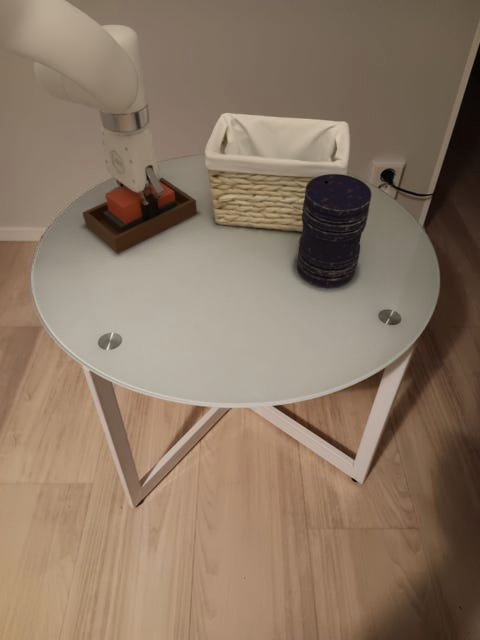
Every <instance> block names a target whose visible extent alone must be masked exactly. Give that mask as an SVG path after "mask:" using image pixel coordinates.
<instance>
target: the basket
mask: <svg viewBox="0 0 480 640" xmlns="http://www.w3.org/2000/svg"><path fill="white" fill-rule="evenodd" d="M350 150H351V135H350V125H349V123H348V122H347V121H342V120H341V121H340V120H339V121H338V120H327V119H318V118H301V117H300V118H299V117H283V116H281V117H280V116H269V115H259V114H258V115H257V114H246V113H232V112H225V113H222V114H220V116H219V118H218V119H217V120H216V123H215V125H214V127H213V130H212V131H211V135H210V136H209V139H208V141H207V143H206V145H205V148H204V154H203V155H204V167H205V169H206V170H207V171H208V179H209V187H210V190H209V191H210V192H209V193H210V197H211V205H212V207H213V216H214V222H215V224H218V225H224V226H230V227H233V226H235V227H236V226H237V227H242V228H243V227H244V228H245V227H248V228H254V229H258V228H259V229H267V230H272V229H273V230H282V231H295V232H300V233H302V230H303V223H302V213H303V202H304V199H305V189H306V186H307V184H308V183H309V181H311V180H312V179H314V178H316V177H318V176H322V175H327V174H342V175H348V166H349V159H350Z"/></svg>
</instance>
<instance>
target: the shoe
mask: <svg viewBox="0 0 480 640" xmlns="http://www.w3.org/2000/svg"><path fill="white" fill-rule="evenodd" d="M159 183H160V185H161V186H162V188H163V190H164V194H163V195H161V197H160V198H159V200H158V207H159V215H160V214H162V213H164V212H166V211H168V210H170V209H172V208H174V207H176V206H177V201H176V200H175V193H174V191H173V190H171V189H170V188H168V187H167V186H165V185H164V184H163V183H161V182H160V181H159ZM119 187H120V188H119ZM119 187H117V188H115V189H113V190H110V191H109V192H108V191H107V192H106V193H104V196H105V202H107V205H108V210H107V211H105V212H103V214H104V218H105V220H107V221H108V222H109V223H110V224H111V225H113V226H114V227H115V228H116V229H118V230H119V231H120V232H121V233H123V232H125V231H127V230H129V229H131V228H133V227H135V226H137V225H139V224H141V223H143V222H144V221H143V216H142V210H141V203H143V202H142V199H141V197H140V194H139V193H137V192H134V191H132V190H131V189H129V188H128V187H126V186H125V185H124V186H122V187H121V186H119ZM144 191H145V194H146V197H147V196H148V195H149V194H150V193H151V190H150V188H148V189H146V190H144Z"/></svg>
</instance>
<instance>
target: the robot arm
mask: <svg viewBox="0 0 480 640" xmlns="http://www.w3.org/2000/svg"><path fill="white" fill-rule="evenodd" d="M0 49H1V50H3V51H5V52H7V53H10V54H13V55H16V56H18V57H20V58H24V59H26V60H29V61H31V62H34V63H33V73H34V76H35V79H36V82H37V84H38V85H39V86H40V88H41V89H42V90H43V91H44V92H45V93H46V94H48V95H50V96H52V97H53V98H56V99H59V100H60V101H61V100H62V101H65V102H69V103H72V104H76V105H81V106H85V107H87V108H91V109H95V110H98V112H99V116H100V121H101V141H102V149H103V154H104V160H105V165H106V171H107V172H108V173H109V175H111V176H112V177H113V178H114V179H115V182H116V185H117V186H118V188H120V187H122V186H124V185H125V186H126V187H128V188H129V189H131V190H132V191H134V192H137V193H139V194H140V197H141V199H142V202H143V203H141V210H142V216H143V221H144V222H145V221H147V220H150V219H152V218H154V217H156V216H158V215H159V207H158V200H159V198H160V197H161V195H163V194H164V190H163V188H162V186H161V185H160V183H159V178H160V171H159V163H158V162H159V161H158V158H157V153H156V148H155V143H154V139H153V135H152V131H151V127H150V125H151V120H150V113H149V106H148V105H149V104H148V99H147V91H146V83H145V75H144V68H143V67H144V66H143V61H142V54H141V53H142V51H141V45H140V39H139V36H138V34H137V33H136V31H135V29H133V28H131V27H129V26H127V25H122V24H103V25H101V24H99V22H98V21H96V20H95V19H93V18H92V17H91V16H89V14H87V13H85V12H84V11H82V10H81V9H79V8H78V7H76V6H74V5H73V4H72V3H70V2H69V1H67V0H0ZM148 188H150V190H151V193H150V194H149V195H148V196H147V197H146V194H145V191H144V190H146V189H148Z"/></svg>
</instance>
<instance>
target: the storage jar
mask: <svg viewBox="0 0 480 640" xmlns="http://www.w3.org/2000/svg"><path fill="white" fill-rule="evenodd" d="M372 194H373V193H372V190H371V188H370V187H369V186H368V184H367V183H365V182H364V181H362V180H361V179H360V178H356V177H354V176H351V175H348V174H347V175H342V174H327V175H322V176H318V177H316V178H314V179H312V180H311V181H309V183H308V184H307V186H306V189H305V199H304V202H303V213H302V223H303V230H302V232H301V235H300V238H299V242H298V249H297V263H296V265H297V266H296V270H297V273H298V275H299V277H300V278H302V280H303V281H305V282H306V283H308V284H309V285H311V286H314V287H317V288H321V289H337V288H341V287H343V286H346V285H347V284H349V283H350V282H351V281H352V280H353V279H354V277H355V274H356V268H357V265H358V262H359V259H360V253H361V238H362V234H363V232H364V230H365V228H366V226H367V220H368V217H369V213H370V204H371V200H372V197H373V196H372Z"/></svg>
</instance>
